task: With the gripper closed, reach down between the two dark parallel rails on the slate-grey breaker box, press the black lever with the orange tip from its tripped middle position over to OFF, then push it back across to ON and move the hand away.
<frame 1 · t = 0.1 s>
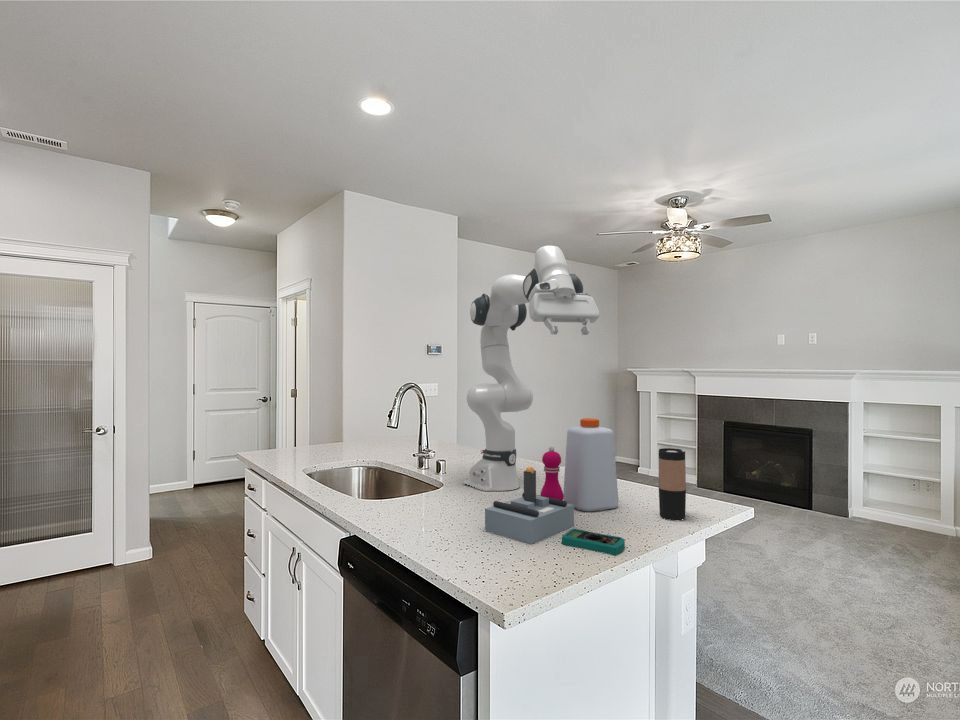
hand: (570, 333, 136), 54 cm above the worktop, tool tilted 30°, fingers open, 8 cm apart
digital multimeter: (592, 547, 127), on the worktop
pepper mill: (552, 510, 158), on the worktop
breaker box: (530, 528, 140), on the worktop
dark parallel rails: (530, 503, 140), point 6 cm above the worktop
breaker lever: (529, 486, 140), point 12 cm above the worktop, hinge at 0.0°
travel mug: (672, 517, 150), on the worktop
plastic bottle: (590, 505, 163), on the worktop
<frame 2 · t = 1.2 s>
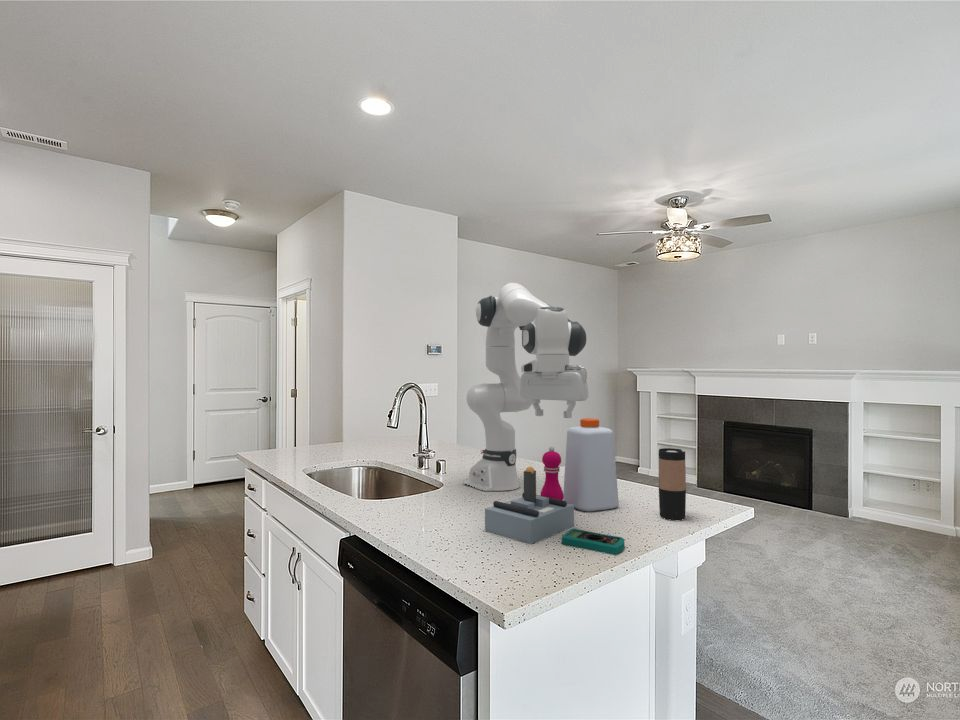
hand: (553, 417, 135), 32 cm above the worktop, tool pointing down, fingers open, 8 cm apart
nothing on the worktop moved.
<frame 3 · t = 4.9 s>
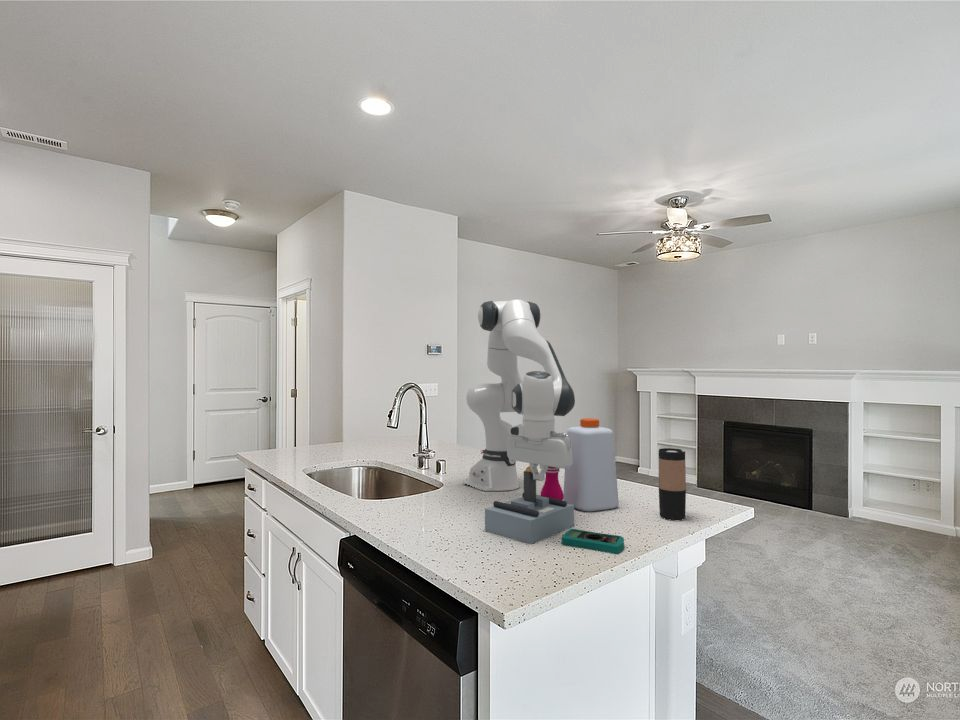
hand: (538, 480, 139), 14 cm above the worktop, tool pointing down, fingers closed
breaker lever: (529, 486, 140), point 12 cm above the worktop, hinge at 0.0°, touching gripper
everything else where it was.
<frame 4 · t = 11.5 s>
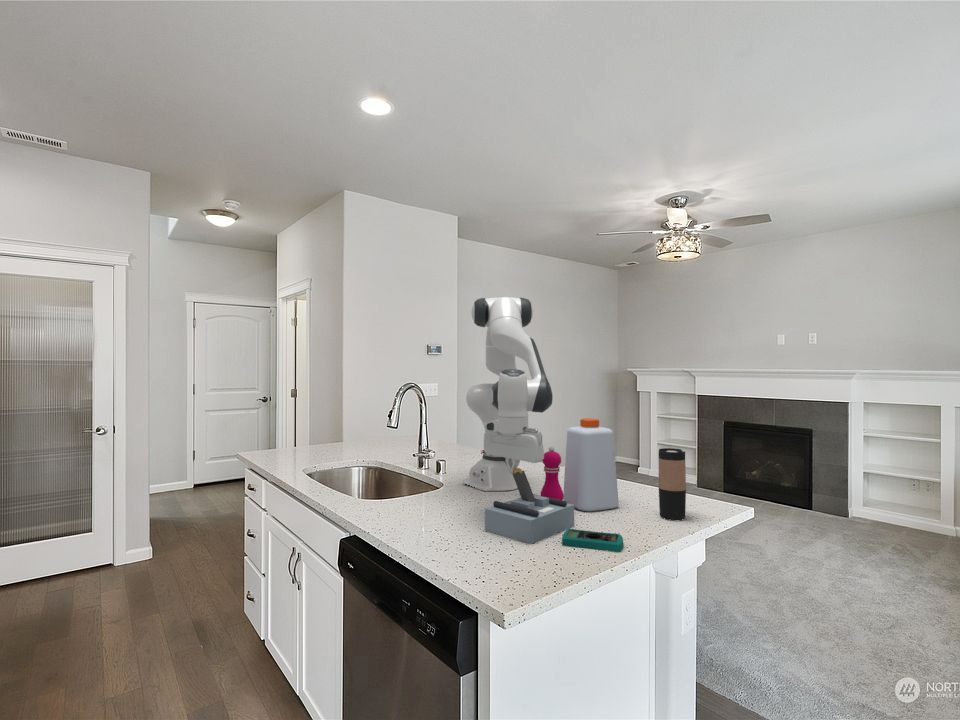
hand: (512, 473, 144), 14 cm above the worktop, tool pointing down, fingers closed, pressing on breaker lever
breaker lever: (523, 486, 142), point 11 cm above the worktop, hinge at -27.6°, touching gripper
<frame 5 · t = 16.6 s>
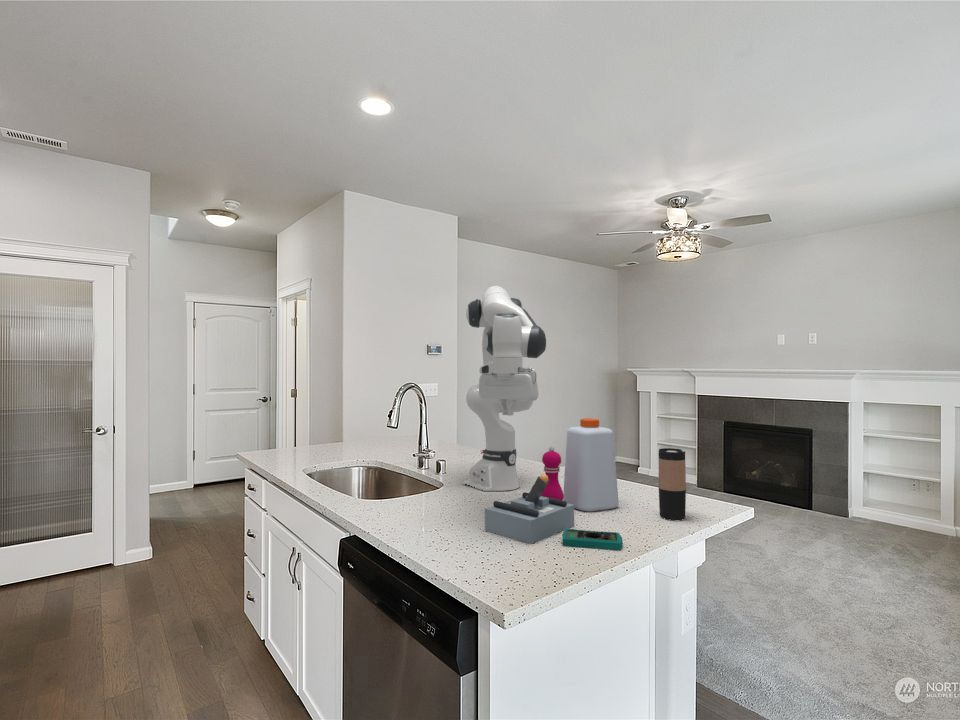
hand: (507, 415, 146), 31 cm above the worktop, tool pointing down, fingers closed
breaker lever: (537, 490, 139), point 11 cm above the worktop, hinge at 32.6°
at the end: breaker lever at +33° (first picture: +0°) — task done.
